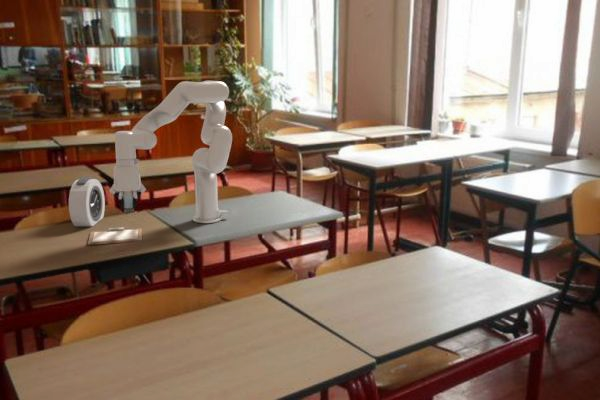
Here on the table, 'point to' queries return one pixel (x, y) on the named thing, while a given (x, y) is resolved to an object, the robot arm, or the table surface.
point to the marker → (128, 202)
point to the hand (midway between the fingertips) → (128, 207)
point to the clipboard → (115, 236)
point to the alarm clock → (86, 202)
